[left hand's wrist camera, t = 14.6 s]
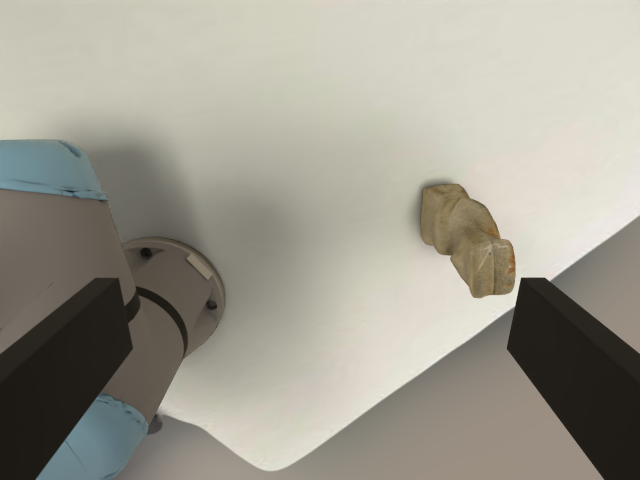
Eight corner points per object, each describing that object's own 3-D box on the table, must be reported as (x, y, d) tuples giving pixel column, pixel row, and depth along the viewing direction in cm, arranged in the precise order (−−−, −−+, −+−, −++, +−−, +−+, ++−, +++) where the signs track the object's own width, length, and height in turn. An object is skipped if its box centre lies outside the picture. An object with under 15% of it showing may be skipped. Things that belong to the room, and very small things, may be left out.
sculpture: (412, 241, 45) (453, 307, 31) (412, 181, 42) (458, 222, 28) (462, 237, 45) (527, 302, 31) (465, 176, 42) (537, 216, 28)
